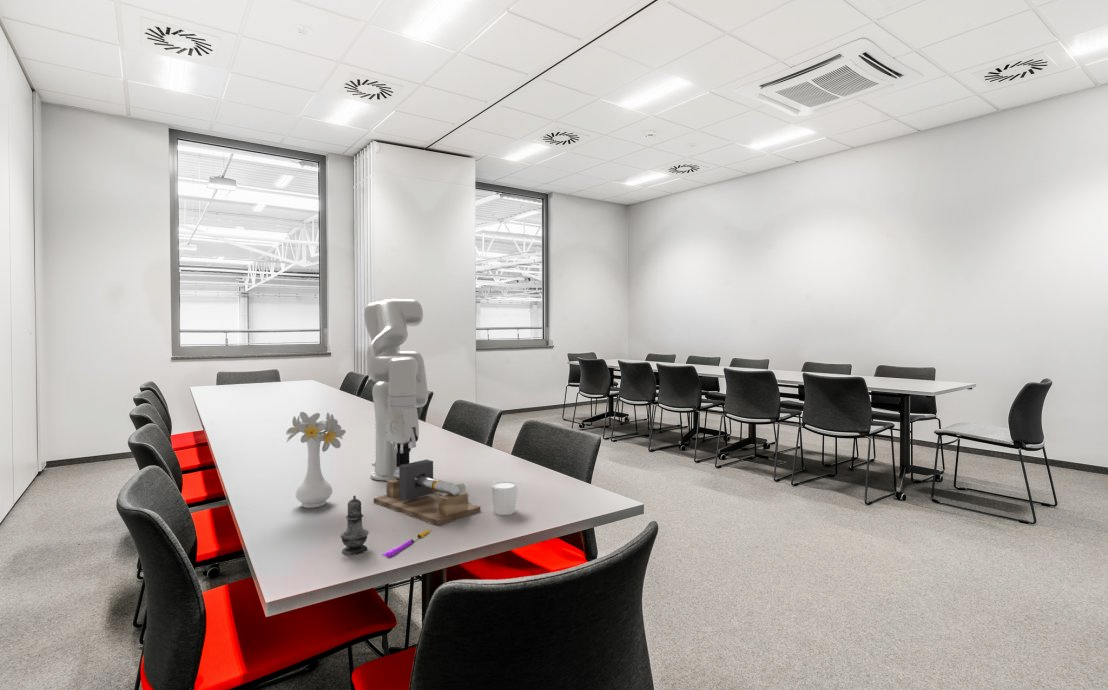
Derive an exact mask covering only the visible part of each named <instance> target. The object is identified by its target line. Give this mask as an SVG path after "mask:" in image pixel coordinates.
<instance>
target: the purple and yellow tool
mask: <svg viewBox="0 0 1108 690" xmlns="http://www.w3.org/2000/svg"><path fill="white" fill-rule="evenodd" d="M430 532H431V529H426V530H424V531H423V532H420V533H418V534H417V535H416V538H414V539H409V540H407V541H406V542H404V543H402V544H401V545H399V546H398V547H396V548H392V549H390V550H388V551H386V552H384V553H382V554H381V556H385V555H386V556H385V557H386V558H388V557H389V558H392V557H394V556H395V555H398V553H399V551H400V552H401V551H403V550H404V549H406V548H407V546H408V547H409V546H411V545H413V544H414V542H415V541H416V540H417V539H419V538H420V539H423V538H424V537H425V536H427V535H428V534H429V533H430ZM423 536H424V537H423ZM402 549H403V550H402ZM393 555H394V556H393Z"/></svg>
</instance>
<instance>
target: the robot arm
mask: <svg viewBox="0 0 1108 690" xmlns="http://www.w3.org/2000/svg"><path fill="white" fill-rule="evenodd" d="M363 312H364V323H365V327H366V330H367V333H368V335H369V337H370V339H371V342H370V343H369V345H368V347H367V350H366V364H367V367H366V368H367V373H368V376H369V379H370V380H371V381H373V382H375V383H374V385H373V386H372V402H373V407H374V419H375V424H374V425H375V426H374V427H375V460H374V461H372V463H371V466H372V467H374V470H373V471H372V472H371V473H370V478H371V479H372V480H375V481H386V482H387V481H388V480H392V479H396V478H395V477H394V472H395V471H396V470H399V465H404V464H408V463H410V453H411V452H412V451H411V450H412V449H413V448H416V447H417V442H418V440H419V439H420V438H419V435H420V434H419V433H420V425H419V414H418V409H417V408H421V407H424V406H425V405H427V404H428V403H427V402H428V400H429V391H428V382H427V377H426V376H427V375H426V368H425V367H426V366H425V361H424V357H423V356H422V354H421V353H420V352H418V351H412V350H407V351H406V350H405V351H402V350H401V348H400V346H401V345H402V344H404V343H406V341H407V339H408V336H409V333H408V328H407V327H417V326H419V325H420V324H422V322H423V318H424V311H423V308H422V305H421V303H420V302H419V301H418V300H416V299H406V298H403V299H401V298H399V299H398V298H391V299H390V298H389V299H384V300H381V301H375V302H371V303H368V304H367V305H365V308H364V311H363Z"/></svg>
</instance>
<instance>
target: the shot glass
mask: <svg viewBox="0 0 1108 690" xmlns="http://www.w3.org/2000/svg"><path fill="white" fill-rule="evenodd" d="M490 487H491V496H492V507H493V508H492V509H493V514H495V515H499V516H509V515H512V513H513V514H515V513H516V505H517V493H518V484H517V483H515V482H509V481H502V482H501V481H500V482H495V483H493V484H491V486H490Z"/></svg>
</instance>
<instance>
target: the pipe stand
mask: <svg viewBox="0 0 1108 690" xmlns="http://www.w3.org/2000/svg"><path fill="white" fill-rule="evenodd" d="M468 493H469V492H467V491H466V492H463V491H461V493H460V495H458V496H454V495H450V494H444V495H443V494H441V493H438V492H433V493H432V494H428V495H424V496H421V497H417V498H414V499H410V500H407V501H406V500H403V499H400V498H399V479H397V478H396V479H392V480H388V481H386V494H384V495H380V496H377V497H373V503H375V504H377V505H379V506H382V507H385V508H388V509H391V510H393V509H394V511H397V512H398V513H402V514H404V513H405V515H408V516H410V517H413V518H415V517H416V519H418V518H419V520H421V521H424V522H427V523H429V522H430V524H433V525H435V524H436V525H435V526H441V525H443V524H446V522H447V523H450V522H452V521H453V522H454V521H455V520H459V519H461V518H464V516H465V517H466V516H470V515H472V514H476V513H479V512H481V506H479V505H476V504H473V503H468V501H469V497H468ZM458 518H459V519H458Z"/></svg>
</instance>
